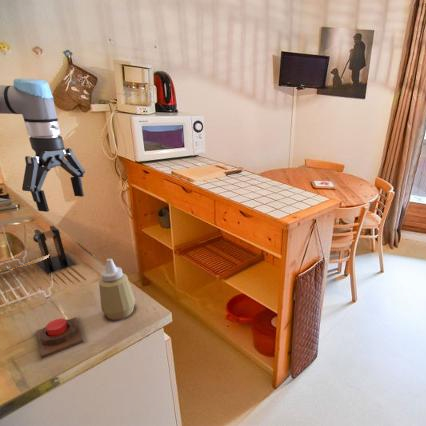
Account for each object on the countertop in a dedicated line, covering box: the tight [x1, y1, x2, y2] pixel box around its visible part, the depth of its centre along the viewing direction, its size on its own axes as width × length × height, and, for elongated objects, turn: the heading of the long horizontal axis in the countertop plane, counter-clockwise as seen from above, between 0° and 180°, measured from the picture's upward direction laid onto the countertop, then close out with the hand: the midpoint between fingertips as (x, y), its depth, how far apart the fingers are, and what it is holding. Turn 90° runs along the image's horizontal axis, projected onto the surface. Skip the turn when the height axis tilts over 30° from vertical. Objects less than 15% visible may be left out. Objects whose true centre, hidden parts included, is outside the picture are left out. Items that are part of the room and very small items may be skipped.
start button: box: [45, 318, 68, 336], centre depth 78 cm, size 4×4×2 cm
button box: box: [36, 316, 84, 359], centre depth 79 cm, size 10×8×4 cm
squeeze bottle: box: [98, 257, 136, 321], centre depth 86 cm, size 8×8×18 cm
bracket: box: [33, 225, 77, 275], centre depth 105 cm, size 10×8×14 cm
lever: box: [32, 229, 54, 244], centre depth 106 cm, size 14×4×4 cm, turn 55°
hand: (62, 203), depth 101 cm, fingers open, 13 cm apart
